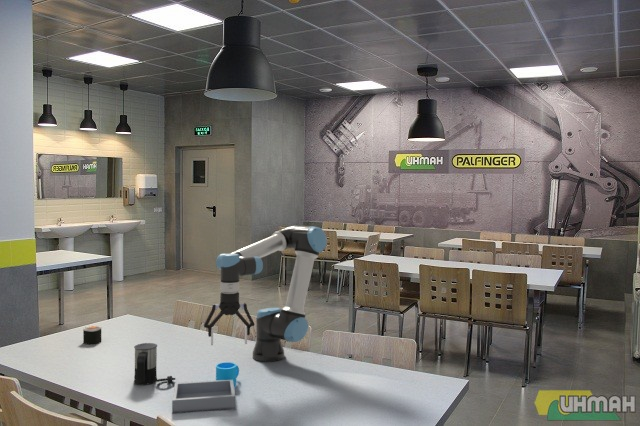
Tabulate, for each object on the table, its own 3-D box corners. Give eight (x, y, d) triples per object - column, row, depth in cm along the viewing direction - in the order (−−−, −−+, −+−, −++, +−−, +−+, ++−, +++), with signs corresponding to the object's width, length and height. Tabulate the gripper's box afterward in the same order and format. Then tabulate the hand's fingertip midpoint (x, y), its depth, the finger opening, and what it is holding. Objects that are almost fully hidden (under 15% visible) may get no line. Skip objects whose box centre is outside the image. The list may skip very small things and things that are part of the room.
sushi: (89, 339, 271) (89, 324, 271) (104, 340, 270) (104, 325, 270) (80, 344, 263) (80, 328, 263) (95, 345, 262) (95, 329, 262)
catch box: (232, 391, 205) (232, 379, 205) (235, 409, 188) (235, 396, 188) (174, 395, 200) (174, 382, 200) (172, 413, 183) (172, 400, 183)
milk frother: (133, 378, 217) (133, 343, 216) (172, 374, 223) (172, 340, 222) (135, 391, 204) (135, 353, 203) (176, 385, 210) (177, 349, 209)
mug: (227, 390, 206) (227, 370, 205) (211, 386, 210) (211, 366, 209) (246, 381, 216) (246, 361, 216) (230, 377, 220) (230, 358, 220)
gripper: (198, 294, 205) (197, 347, 206) (261, 293, 210) (260, 345, 211) (198, 290, 213) (197, 342, 213) (259, 289, 218) (258, 340, 219)
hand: (229, 343), depth 212 cm, fingers open, 13 cm apart
